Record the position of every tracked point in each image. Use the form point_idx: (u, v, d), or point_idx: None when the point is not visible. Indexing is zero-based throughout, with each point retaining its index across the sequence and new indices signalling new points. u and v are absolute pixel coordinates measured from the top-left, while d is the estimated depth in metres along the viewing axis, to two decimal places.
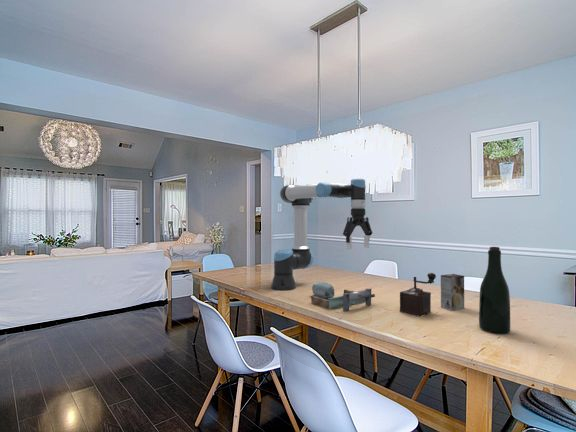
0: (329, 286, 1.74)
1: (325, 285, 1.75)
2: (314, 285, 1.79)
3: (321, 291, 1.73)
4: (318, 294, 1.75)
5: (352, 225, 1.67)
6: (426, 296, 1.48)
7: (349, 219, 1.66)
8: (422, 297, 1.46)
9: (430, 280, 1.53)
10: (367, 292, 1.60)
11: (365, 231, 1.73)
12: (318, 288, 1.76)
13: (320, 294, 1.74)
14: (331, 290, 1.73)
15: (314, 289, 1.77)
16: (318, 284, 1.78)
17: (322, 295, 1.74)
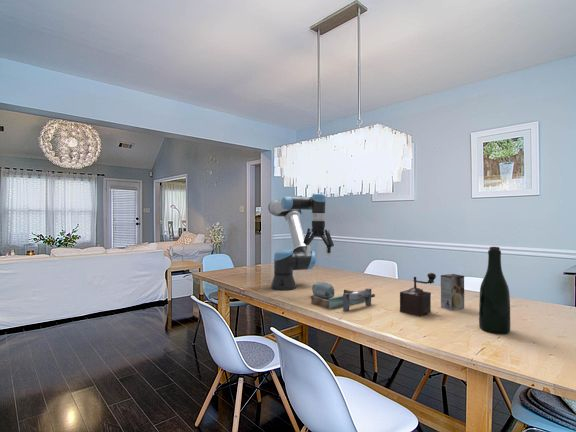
0: (329, 286, 1.74)
1: (325, 285, 1.75)
2: (314, 285, 1.79)
3: (321, 291, 1.73)
4: (318, 294, 1.75)
5: None
6: (427, 296, 1.48)
7: None
8: (422, 297, 1.46)
9: (430, 280, 1.53)
10: (367, 292, 1.60)
11: None
12: (318, 288, 1.76)
13: (320, 294, 1.74)
14: (331, 290, 1.73)
15: (314, 289, 1.77)
16: (318, 284, 1.78)
17: (322, 295, 1.74)
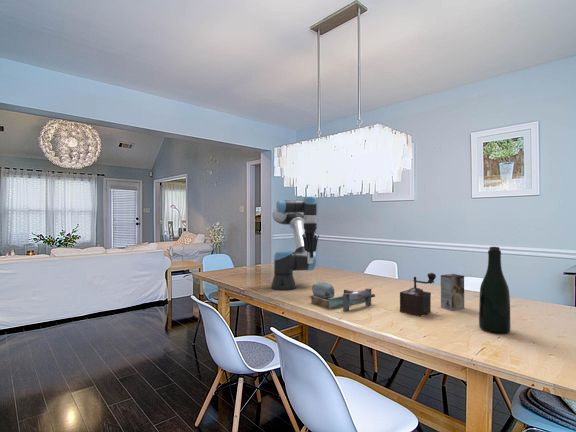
0: (329, 286, 1.74)
1: (325, 285, 1.75)
2: (314, 285, 1.79)
3: (321, 291, 1.73)
4: (318, 294, 1.75)
5: None
6: (427, 296, 1.48)
7: None
8: (422, 297, 1.46)
9: (430, 280, 1.53)
10: (367, 292, 1.60)
11: None
12: (318, 288, 1.76)
13: (320, 294, 1.74)
14: (331, 290, 1.73)
15: (314, 289, 1.77)
16: (318, 284, 1.78)
17: (322, 295, 1.74)
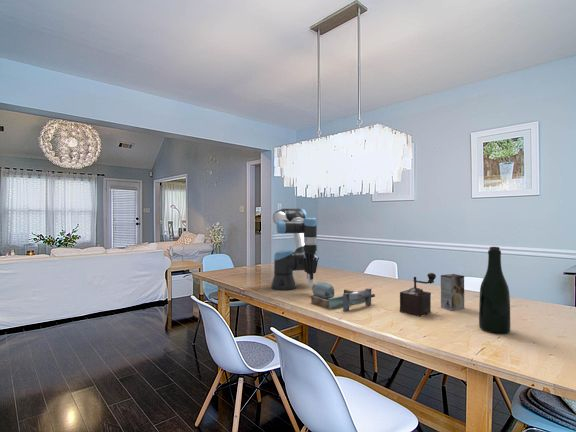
0: (329, 286, 1.74)
1: (325, 285, 1.75)
2: (314, 285, 1.79)
3: (321, 291, 1.73)
4: (318, 294, 1.75)
5: None
6: (426, 296, 1.48)
7: None
8: (422, 297, 1.46)
9: (430, 280, 1.53)
10: (367, 292, 1.60)
11: None
12: (318, 288, 1.76)
13: (320, 294, 1.74)
14: (331, 290, 1.73)
15: (314, 289, 1.77)
16: (318, 284, 1.78)
17: (322, 295, 1.74)
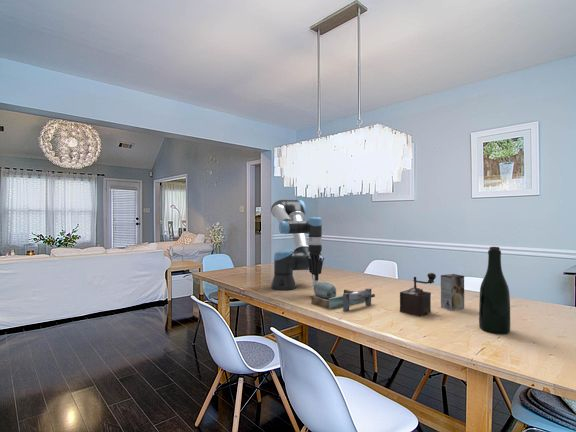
0: (331, 286, 1.73)
1: (327, 285, 1.74)
2: (316, 285, 1.78)
3: (323, 291, 1.73)
4: (320, 294, 1.74)
5: None
6: (426, 296, 1.48)
7: None
8: (422, 297, 1.46)
9: (430, 280, 1.53)
10: (367, 292, 1.60)
11: None
12: (320, 288, 1.75)
13: (322, 294, 1.73)
14: (333, 290, 1.72)
15: (316, 289, 1.76)
16: (320, 284, 1.77)
17: (324, 295, 1.73)
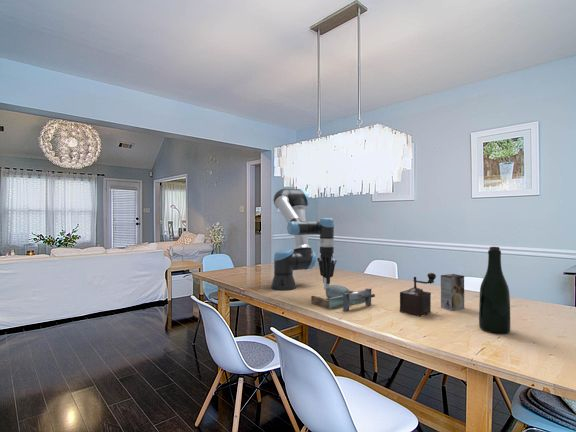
0: (345, 289, 1.66)
1: (341, 288, 1.67)
2: (328, 288, 1.71)
3: (337, 295, 1.66)
4: None
5: None
6: (427, 296, 1.48)
7: None
8: (422, 297, 1.46)
9: (430, 280, 1.53)
10: (367, 292, 1.60)
11: None
12: (333, 291, 1.68)
13: None
14: None
15: (329, 293, 1.69)
16: (333, 287, 1.70)
17: None
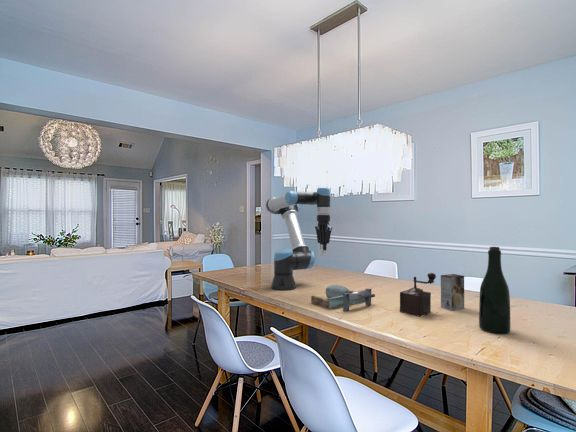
0: (345, 289, 1.66)
1: (341, 288, 1.67)
2: (328, 288, 1.71)
3: (337, 295, 1.66)
4: None
5: None
6: (427, 296, 1.48)
7: None
8: (422, 297, 1.46)
9: (430, 280, 1.53)
10: (367, 292, 1.60)
11: None
12: (333, 291, 1.68)
13: None
14: None
15: (329, 293, 1.69)
16: (333, 287, 1.70)
17: None
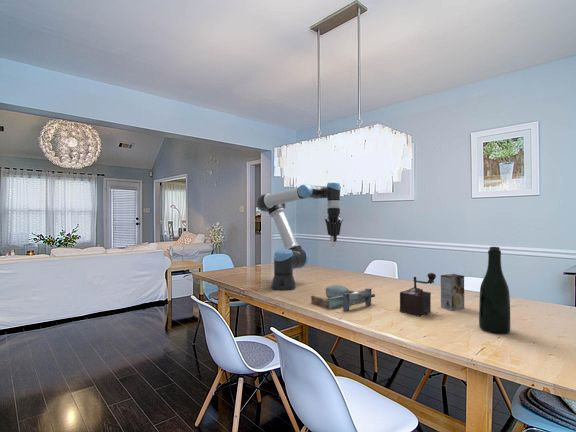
0: (345, 289, 1.66)
1: (341, 288, 1.67)
2: (328, 288, 1.71)
3: (337, 295, 1.66)
4: None
5: None
6: (427, 296, 1.48)
7: None
8: (422, 297, 1.46)
9: (430, 280, 1.53)
10: (367, 292, 1.60)
11: None
12: (333, 291, 1.68)
13: None
14: None
15: (329, 293, 1.69)
16: (333, 287, 1.70)
17: None
